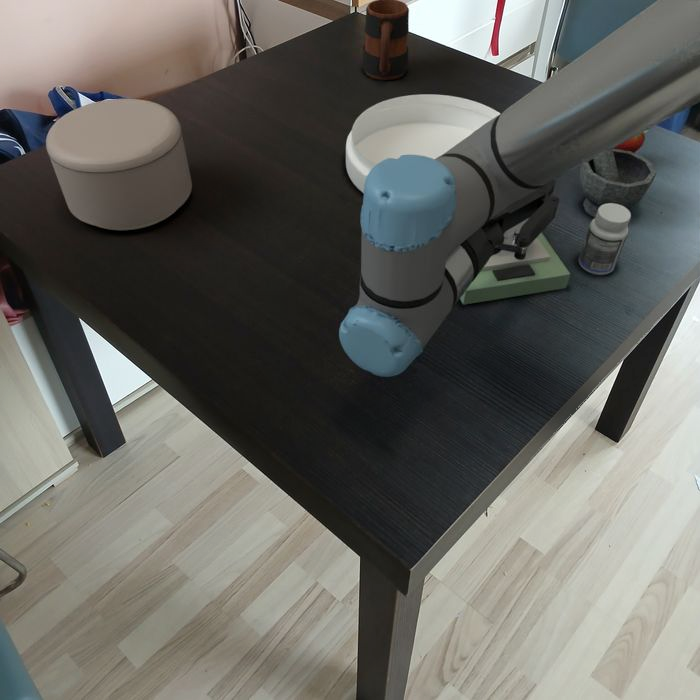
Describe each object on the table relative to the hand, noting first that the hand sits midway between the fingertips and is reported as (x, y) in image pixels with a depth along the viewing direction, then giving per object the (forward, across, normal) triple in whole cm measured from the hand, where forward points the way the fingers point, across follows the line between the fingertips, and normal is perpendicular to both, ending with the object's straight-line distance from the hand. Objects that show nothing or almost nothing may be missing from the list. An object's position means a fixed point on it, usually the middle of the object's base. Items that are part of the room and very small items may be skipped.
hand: (525, 161), depth 83 cm
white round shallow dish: (+11, -18, -12) cm, 24 cm away
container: (-21, -51, -13) cm, 56 cm away
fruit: (+27, +7, -12) cm, 31 cm away
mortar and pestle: (+15, +8, -12) cm, 21 cm away
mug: (+35, -40, -13) cm, 54 cm away
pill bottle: (+1, +12, -12) cm, 17 cm away
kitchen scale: (-5, 0, -12) cm, 13 cm away
